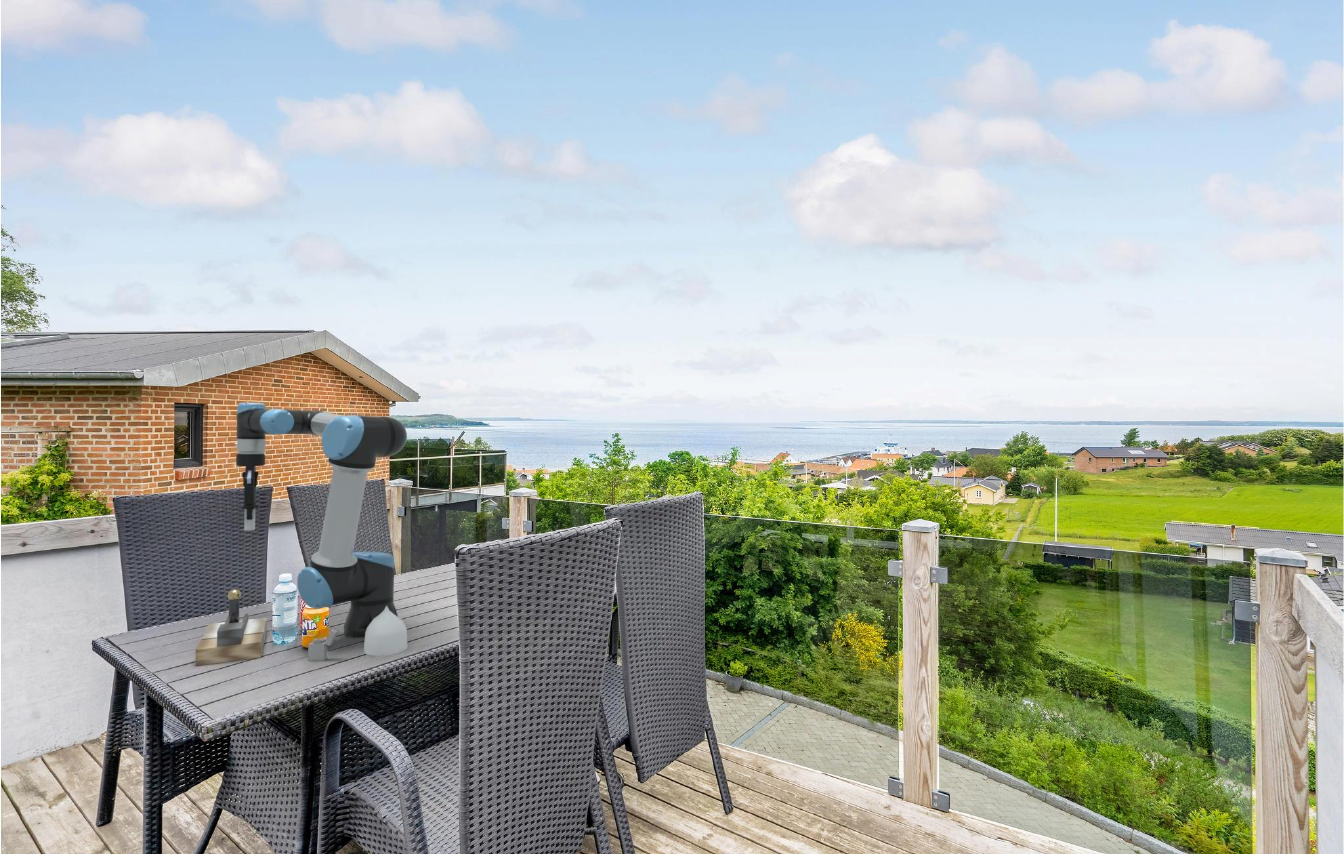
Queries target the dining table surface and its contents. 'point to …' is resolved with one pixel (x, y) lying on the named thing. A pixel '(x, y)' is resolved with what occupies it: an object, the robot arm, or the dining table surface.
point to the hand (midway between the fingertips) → (249, 529)
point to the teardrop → (385, 635)
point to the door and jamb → (232, 641)
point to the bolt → (234, 605)
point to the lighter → (321, 647)
